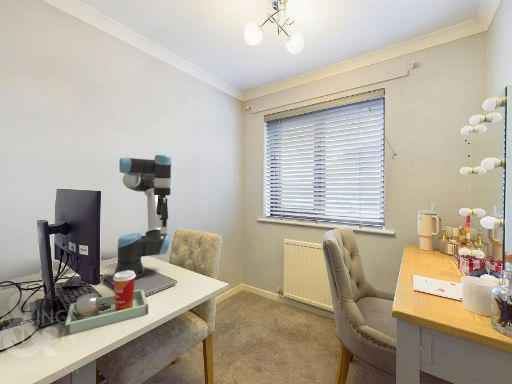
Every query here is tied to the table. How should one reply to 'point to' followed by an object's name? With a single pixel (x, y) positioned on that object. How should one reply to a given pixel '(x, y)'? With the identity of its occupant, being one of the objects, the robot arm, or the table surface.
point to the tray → (107, 313)
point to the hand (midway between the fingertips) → (161, 230)
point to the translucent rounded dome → (88, 306)
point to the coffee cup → (124, 289)
